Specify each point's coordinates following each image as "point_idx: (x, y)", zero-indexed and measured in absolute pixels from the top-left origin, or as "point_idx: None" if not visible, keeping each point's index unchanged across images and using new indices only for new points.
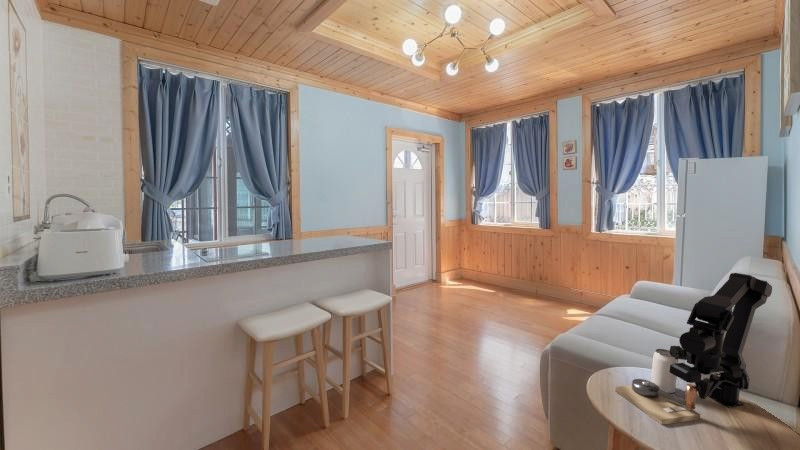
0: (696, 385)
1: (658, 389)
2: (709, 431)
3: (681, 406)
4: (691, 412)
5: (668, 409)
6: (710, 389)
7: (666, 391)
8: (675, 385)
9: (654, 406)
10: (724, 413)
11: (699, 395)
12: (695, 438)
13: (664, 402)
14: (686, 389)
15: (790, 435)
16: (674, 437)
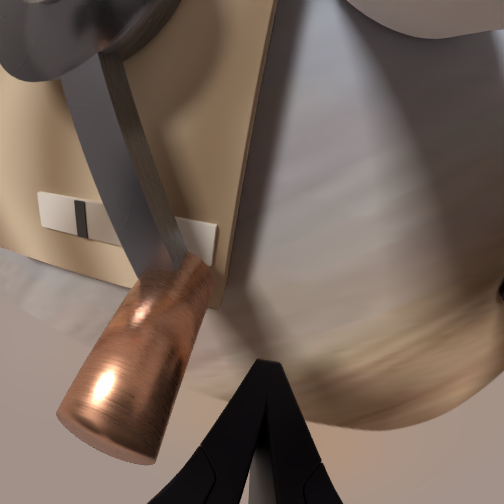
0: (189, 460)
1: (84, 52)
2: None
3: None
4: None
5: (56, 211)
6: (250, 499)
7: (351, 3)
8: (462, 33)
9: (20, 155)
10: (428, 310)
11: (244, 378)
12: (79, 327)
13: None
14: (80, 370)
15: (429, 418)
16: (21, 290)
